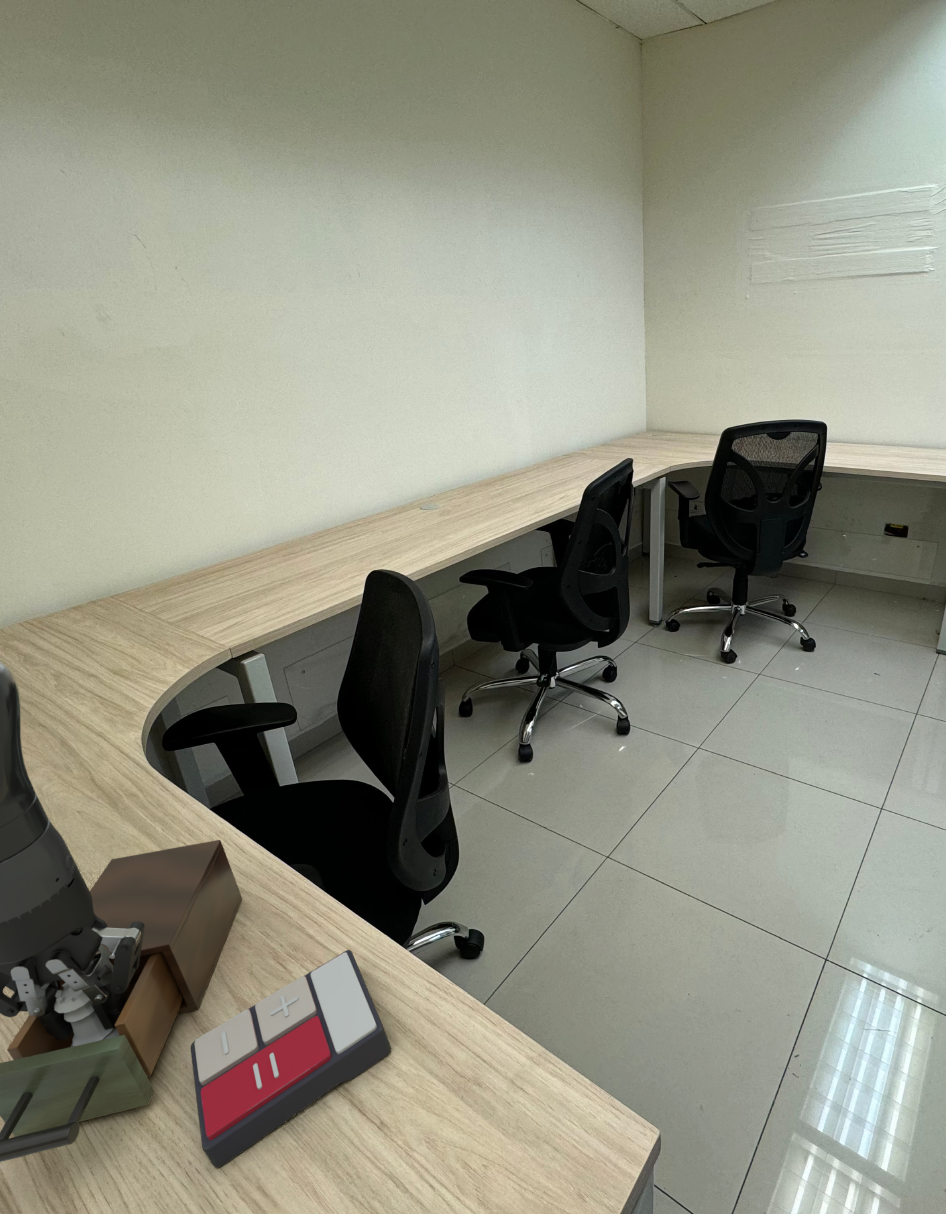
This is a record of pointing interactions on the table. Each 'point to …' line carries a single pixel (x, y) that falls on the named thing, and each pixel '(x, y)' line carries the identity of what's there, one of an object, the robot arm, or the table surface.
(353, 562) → the table surface
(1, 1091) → the drawer
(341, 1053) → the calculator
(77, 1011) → the rook chess piece
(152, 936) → the cabinet
